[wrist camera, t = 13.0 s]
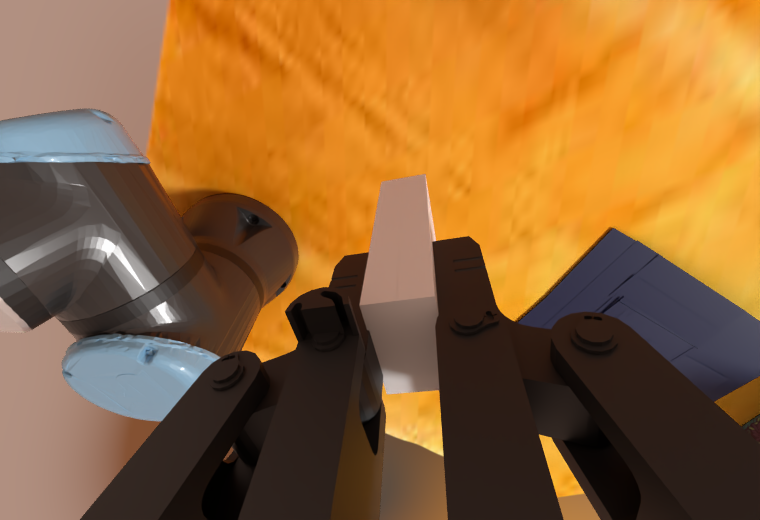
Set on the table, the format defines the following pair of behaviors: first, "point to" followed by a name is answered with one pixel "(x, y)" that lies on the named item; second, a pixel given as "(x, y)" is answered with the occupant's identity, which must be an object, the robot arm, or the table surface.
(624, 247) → the dark blue flat slab
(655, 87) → the table surface
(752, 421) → the black coffee bag
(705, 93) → the table surface
